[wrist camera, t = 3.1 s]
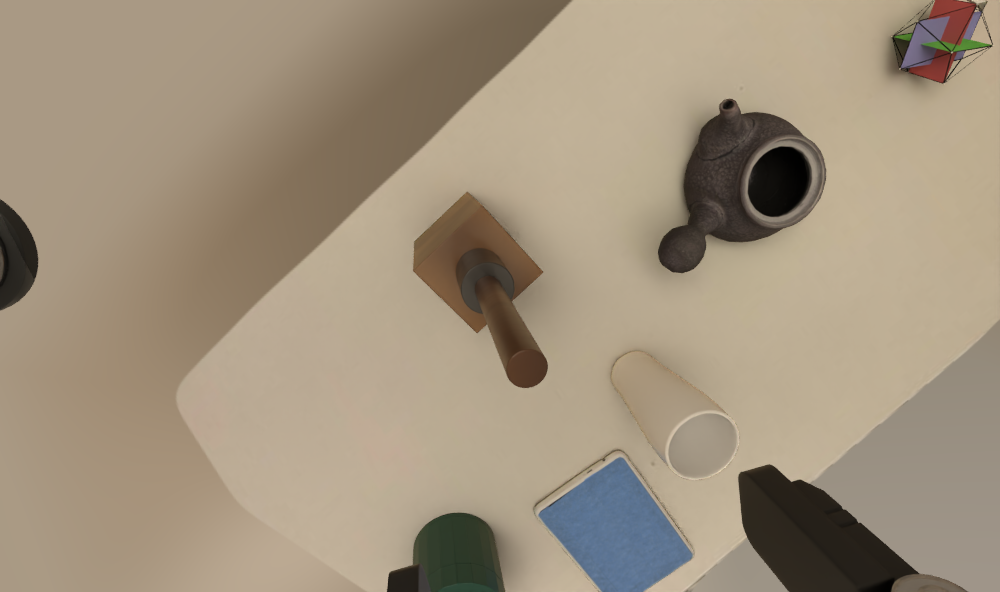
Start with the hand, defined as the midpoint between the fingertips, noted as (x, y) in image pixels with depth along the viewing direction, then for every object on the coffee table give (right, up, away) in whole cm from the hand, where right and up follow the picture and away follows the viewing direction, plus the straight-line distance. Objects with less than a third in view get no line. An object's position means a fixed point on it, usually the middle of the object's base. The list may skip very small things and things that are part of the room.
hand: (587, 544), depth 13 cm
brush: (-4, +8, +27) cm, 28 cm away
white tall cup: (+12, -2, +45) cm, 47 cm away
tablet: (+12, -22, +50) cm, 56 cm away
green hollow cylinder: (-7, -23, +47) cm, 53 cm away
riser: (-5, +11, +38) cm, 40 cm away
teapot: (+18, +17, +40) cm, 47 cm away
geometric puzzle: (+39, +31, +39) cm, 63 cm away
